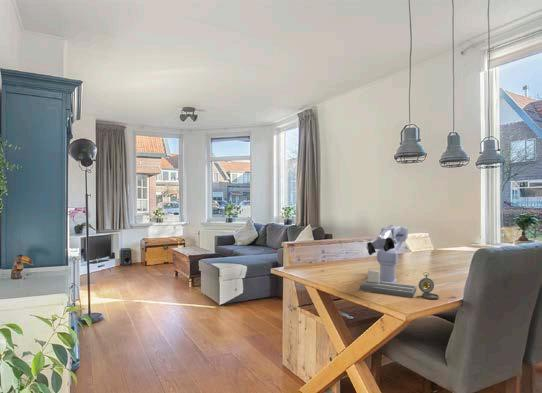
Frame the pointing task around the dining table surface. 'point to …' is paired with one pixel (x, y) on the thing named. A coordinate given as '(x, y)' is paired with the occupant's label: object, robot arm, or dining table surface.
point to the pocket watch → (425, 283)
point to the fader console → (389, 288)
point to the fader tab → (373, 276)
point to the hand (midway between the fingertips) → (377, 251)
